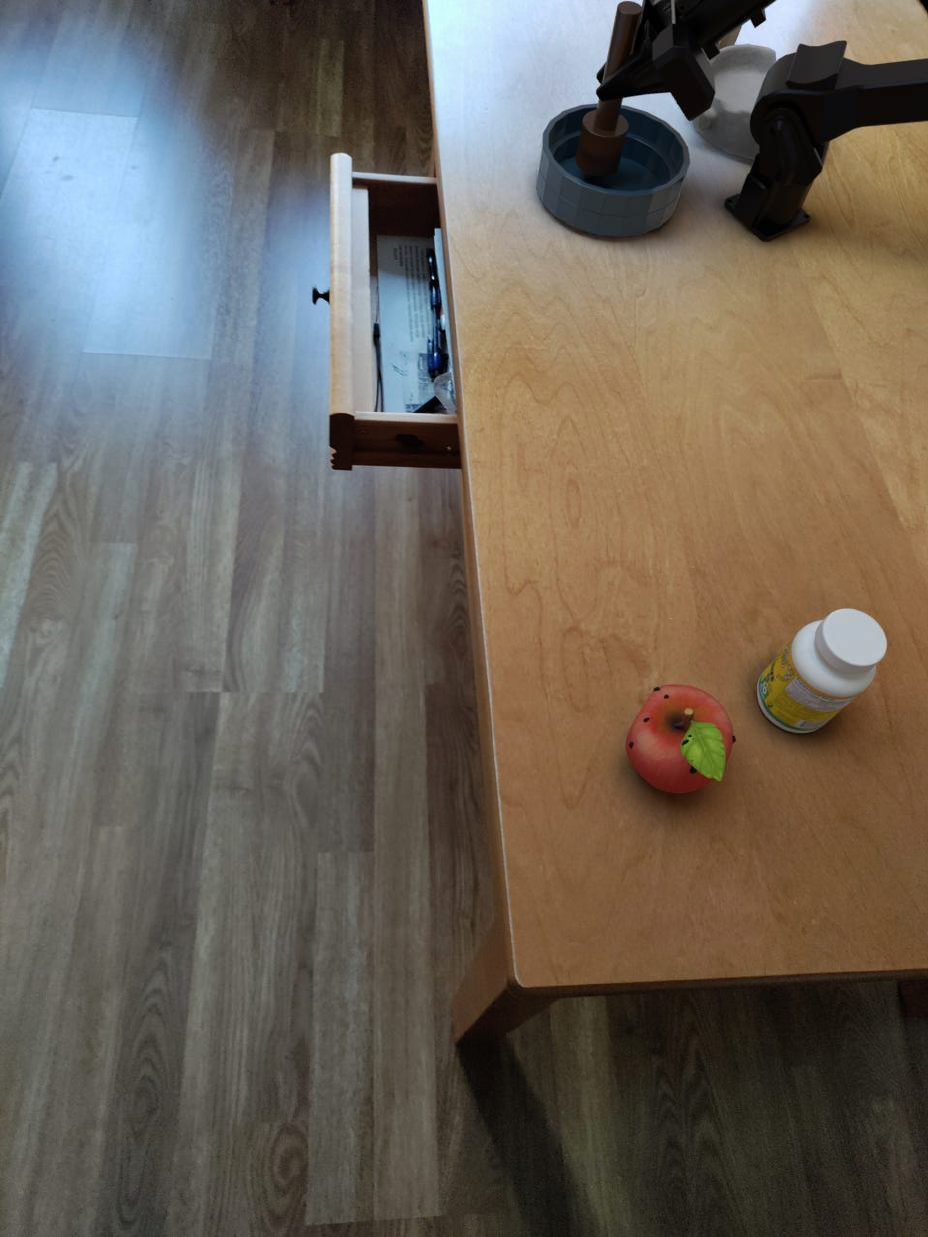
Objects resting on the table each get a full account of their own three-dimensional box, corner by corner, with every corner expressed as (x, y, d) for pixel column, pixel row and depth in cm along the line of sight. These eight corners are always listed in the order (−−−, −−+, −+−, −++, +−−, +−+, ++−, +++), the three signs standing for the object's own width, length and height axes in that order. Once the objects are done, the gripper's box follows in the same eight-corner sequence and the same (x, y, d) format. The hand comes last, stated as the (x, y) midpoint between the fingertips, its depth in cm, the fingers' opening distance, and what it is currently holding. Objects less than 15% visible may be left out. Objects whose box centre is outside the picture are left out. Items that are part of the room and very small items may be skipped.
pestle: (628, 167, 85) (666, 13, 73) (593, 181, 84) (626, 26, 72) (601, 143, 87) (633, -12, 75) (566, 156, 85) (594, 0, 73)
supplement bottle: (805, 750, 59) (874, 694, 50) (739, 702, 60) (795, 639, 52) (842, 696, 61) (913, 634, 53) (777, 651, 62) (837, 583, 54)
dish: (720, 74, 98) (735, 27, 94) (830, 124, 95) (851, 77, 91) (658, 131, 92) (671, 84, 88) (774, 186, 89) (793, 139, 85)
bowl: (617, 136, 91) (629, 88, 87) (703, 214, 86) (720, 167, 82) (507, 174, 87) (513, 126, 82) (591, 259, 82) (602, 212, 77)
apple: (592, 732, 58) (627, 670, 50) (678, 698, 60) (726, 632, 51) (647, 837, 55) (694, 790, 46) (735, 798, 57) (798, 745, 48)
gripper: (708, -183, 69) (550, -42, 79) (720, -71, 60) (540, 73, 70) (768, -56, 76) (617, 59, 86) (786, 60, 67) (615, 175, 77)
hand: (598, 88), depth 79 cm, fingers closed on pestle, 2 cm apart
